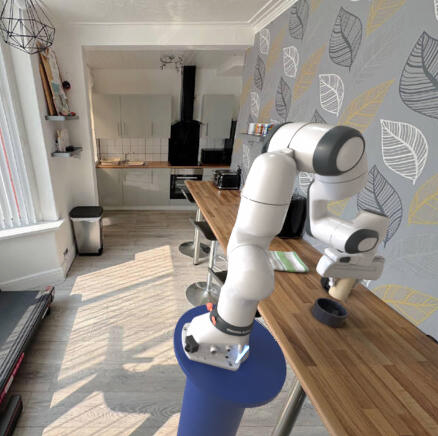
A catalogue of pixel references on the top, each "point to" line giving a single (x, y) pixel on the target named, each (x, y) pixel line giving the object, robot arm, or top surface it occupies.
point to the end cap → (326, 283)
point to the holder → (329, 312)
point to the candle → (342, 288)
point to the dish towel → (287, 261)
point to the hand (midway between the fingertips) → (341, 286)
